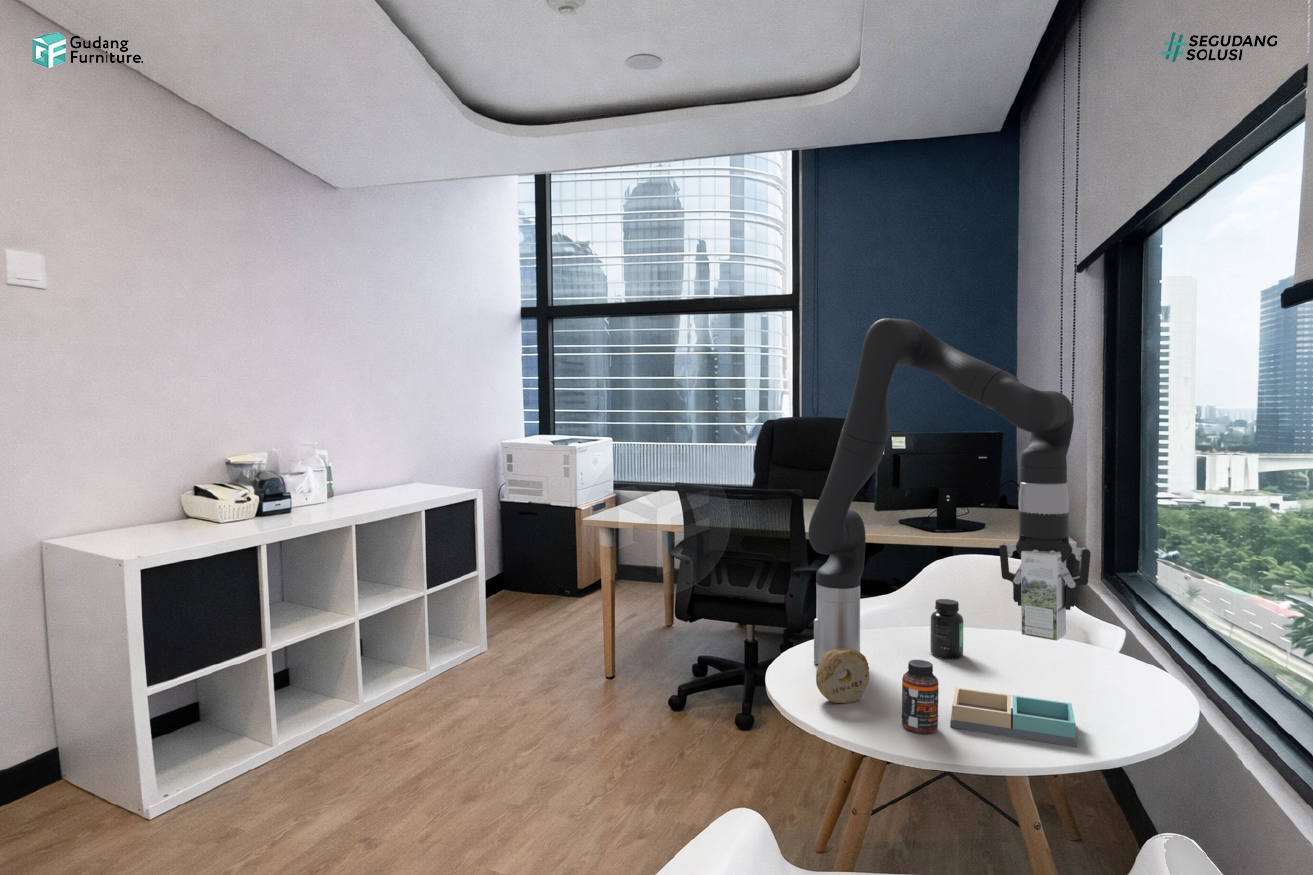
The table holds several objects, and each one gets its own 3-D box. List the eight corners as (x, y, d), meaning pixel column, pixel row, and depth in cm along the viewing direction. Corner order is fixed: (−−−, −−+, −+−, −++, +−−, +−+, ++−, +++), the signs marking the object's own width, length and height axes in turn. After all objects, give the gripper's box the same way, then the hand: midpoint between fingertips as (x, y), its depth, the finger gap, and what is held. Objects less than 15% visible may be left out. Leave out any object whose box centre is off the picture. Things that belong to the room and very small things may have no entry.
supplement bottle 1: (918, 737, 127) (918, 670, 126) (894, 724, 132) (894, 660, 132) (945, 731, 129) (946, 665, 128) (920, 718, 134) (921, 655, 134)
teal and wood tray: (950, 726, 131) (950, 705, 130) (954, 706, 140) (954, 686, 139) (1077, 747, 122) (1077, 724, 122) (1072, 723, 131) (1072, 702, 131)
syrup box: (1067, 633, 129) (1067, 549, 128) (1057, 641, 124) (1057, 554, 124) (1031, 627, 133) (1031, 545, 132) (1020, 635, 128) (1020, 550, 128)
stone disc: (861, 694, 146) (861, 642, 146) (871, 701, 142) (871, 648, 142) (812, 700, 143) (812, 647, 143) (821, 707, 140) (821, 654, 139)
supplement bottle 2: (969, 658, 166) (970, 604, 166) (942, 660, 165) (942, 606, 164) (950, 648, 173) (951, 596, 172) (924, 651, 171) (924, 598, 171)
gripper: (996, 510, 127) (996, 608, 128) (1094, 513, 121) (1094, 616, 122) (997, 505, 134) (997, 598, 135) (1090, 508, 128) (1090, 605, 129)
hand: (1043, 606), depth 128 cm, fingers closed on syrup box, 6 cm apart
